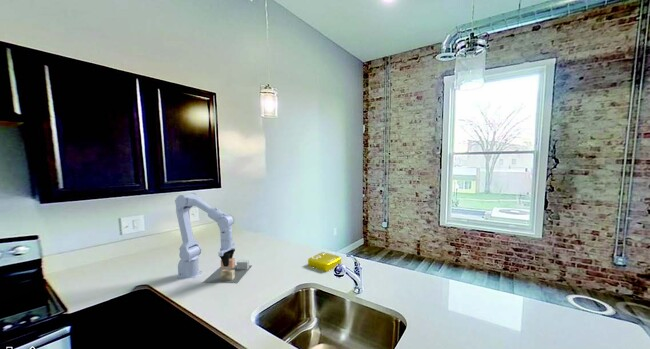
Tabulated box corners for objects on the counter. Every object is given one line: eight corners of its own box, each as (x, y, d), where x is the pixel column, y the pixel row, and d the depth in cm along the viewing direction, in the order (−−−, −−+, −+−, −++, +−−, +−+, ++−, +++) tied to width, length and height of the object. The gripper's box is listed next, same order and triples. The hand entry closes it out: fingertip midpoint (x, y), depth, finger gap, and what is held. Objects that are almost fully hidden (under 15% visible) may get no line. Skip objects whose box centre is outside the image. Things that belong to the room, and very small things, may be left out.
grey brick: (236, 269, 145) (236, 262, 144) (239, 267, 148) (238, 260, 147) (247, 269, 144) (247, 262, 144) (249, 267, 147) (249, 260, 147)
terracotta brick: (220, 268, 131) (220, 260, 131) (223, 265, 134) (223, 258, 134) (232, 268, 131) (232, 260, 131) (234, 265, 134) (234, 258, 134)
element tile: (327, 272, 140) (326, 264, 140) (306, 266, 150) (306, 258, 149) (342, 264, 152) (342, 256, 152) (322, 258, 161) (322, 250, 161)
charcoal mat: (202, 283, 129) (202, 282, 129) (222, 265, 151) (222, 265, 151) (237, 284, 128) (237, 283, 128) (252, 266, 150) (252, 265, 150)
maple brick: (220, 279, 132) (220, 272, 132) (223, 277, 135) (223, 269, 135) (232, 279, 131) (232, 272, 131) (234, 277, 134) (234, 269, 134)
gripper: (227, 243, 125) (228, 270, 125) (239, 234, 139) (240, 259, 140) (213, 243, 125) (214, 270, 126) (227, 234, 139) (227, 259, 140)
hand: (227, 264), depth 133 cm, fingers closed on terracotta brick, 3 cm apart
